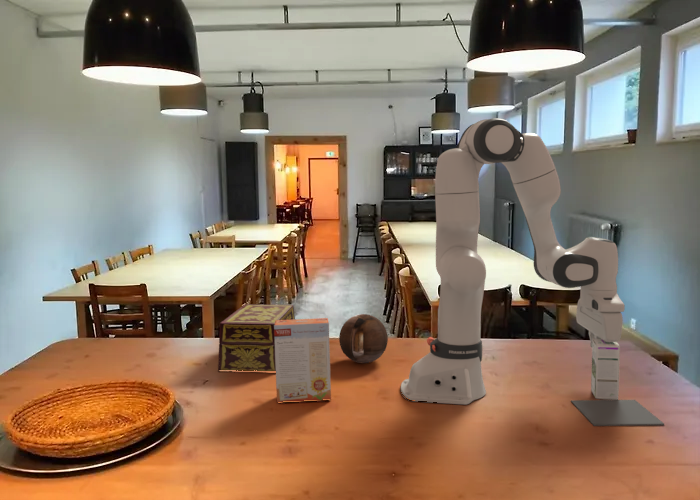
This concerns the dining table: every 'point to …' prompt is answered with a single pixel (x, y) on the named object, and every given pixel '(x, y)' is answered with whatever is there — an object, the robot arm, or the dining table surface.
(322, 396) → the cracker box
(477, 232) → the robot arm
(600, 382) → the syrup box
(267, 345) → the decorative box
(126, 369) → the dining table surface
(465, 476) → the dining table surface
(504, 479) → the dining table surface
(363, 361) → the wooden sphere
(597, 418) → the mat
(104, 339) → the dining table surface
